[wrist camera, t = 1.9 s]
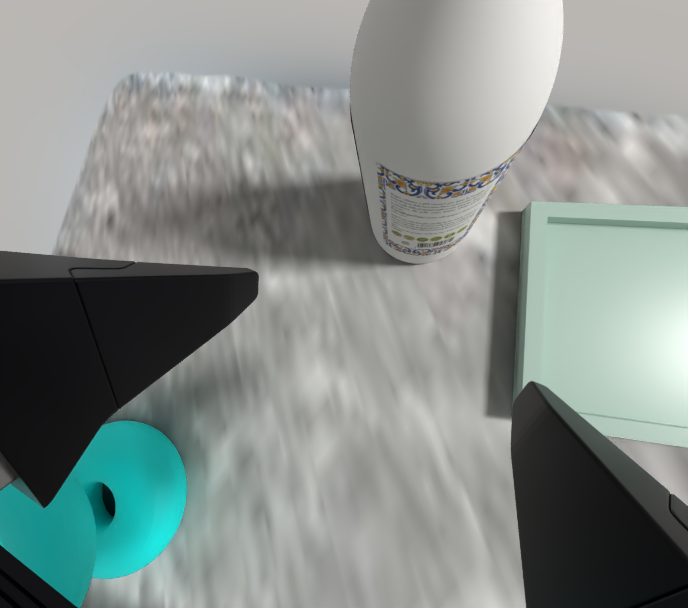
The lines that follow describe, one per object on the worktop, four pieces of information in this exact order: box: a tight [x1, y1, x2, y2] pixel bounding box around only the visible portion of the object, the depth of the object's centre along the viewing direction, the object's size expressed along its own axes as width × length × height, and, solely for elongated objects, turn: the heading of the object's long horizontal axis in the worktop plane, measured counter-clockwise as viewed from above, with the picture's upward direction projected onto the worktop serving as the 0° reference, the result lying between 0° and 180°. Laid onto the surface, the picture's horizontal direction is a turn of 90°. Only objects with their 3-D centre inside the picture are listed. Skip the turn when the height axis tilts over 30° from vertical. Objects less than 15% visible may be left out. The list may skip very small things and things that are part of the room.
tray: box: [512, 201, 688, 448], centre depth 19 cm, size 14×14×2 cm
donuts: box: [0, 421, 187, 608], centre depth 19 cm, size 10×10×10 cm
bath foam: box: [350, 0, 563, 264], centre depth 13 cm, size 7×7×20 cm
